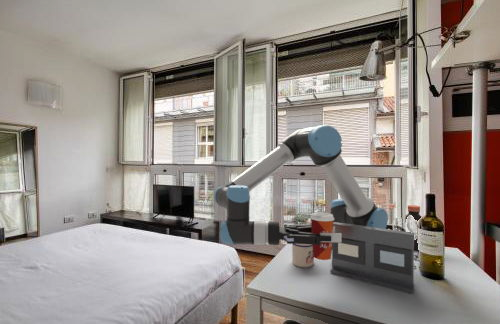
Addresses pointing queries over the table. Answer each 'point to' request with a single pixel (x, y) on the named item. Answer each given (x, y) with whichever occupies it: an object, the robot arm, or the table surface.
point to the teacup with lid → (302, 255)
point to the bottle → (414, 212)
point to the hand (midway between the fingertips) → (337, 234)
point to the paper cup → (322, 225)
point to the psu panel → (374, 256)
